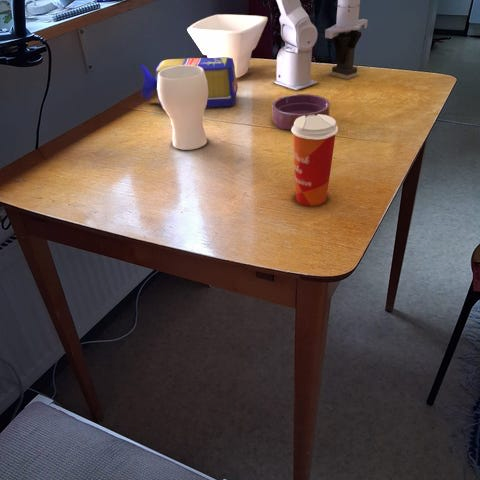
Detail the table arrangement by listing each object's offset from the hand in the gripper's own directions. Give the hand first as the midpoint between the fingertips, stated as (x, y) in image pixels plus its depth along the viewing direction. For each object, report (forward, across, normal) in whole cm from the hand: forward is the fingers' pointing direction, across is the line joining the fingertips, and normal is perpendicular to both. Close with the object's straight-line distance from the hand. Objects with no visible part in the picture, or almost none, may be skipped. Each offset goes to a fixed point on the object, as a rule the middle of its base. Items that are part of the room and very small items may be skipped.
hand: (343, 61), depth 136 cm
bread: (+4, -43, +14) cm, 45 cm away
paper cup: (+4, -56, -44) cm, 71 cm away
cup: (+4, -58, -7) cm, 59 cm away
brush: (+3, 0, 0) cm, 4 cm away
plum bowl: (+3, -32, -16) cm, 36 cm away
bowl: (+4, -22, +24) cm, 33 cm away
